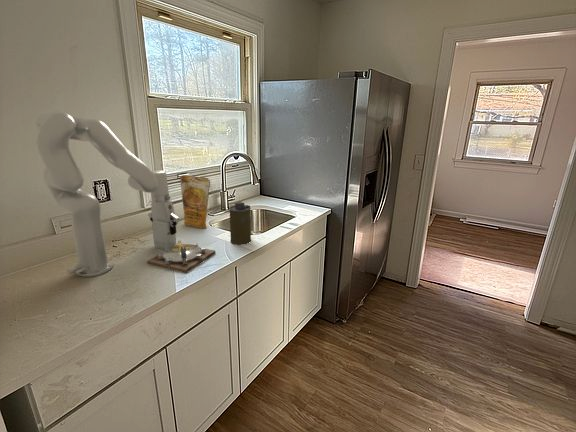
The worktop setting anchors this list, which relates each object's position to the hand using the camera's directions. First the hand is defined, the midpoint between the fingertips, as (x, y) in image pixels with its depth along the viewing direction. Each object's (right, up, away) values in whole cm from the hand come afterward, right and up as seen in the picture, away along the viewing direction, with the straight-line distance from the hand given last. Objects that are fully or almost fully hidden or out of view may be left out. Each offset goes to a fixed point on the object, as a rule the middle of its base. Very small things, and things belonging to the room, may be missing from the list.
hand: (165, 232), depth 145 cm
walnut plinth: (+12, -11, -12) cm, 20 cm away
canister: (+35, -5, +9) cm, 36 cm away
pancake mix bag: (+6, +2, +29) cm, 30 cm away
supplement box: (0, -7, +1) cm, 7 cm away
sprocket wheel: (+12, -9, -12) cm, 20 cm away
